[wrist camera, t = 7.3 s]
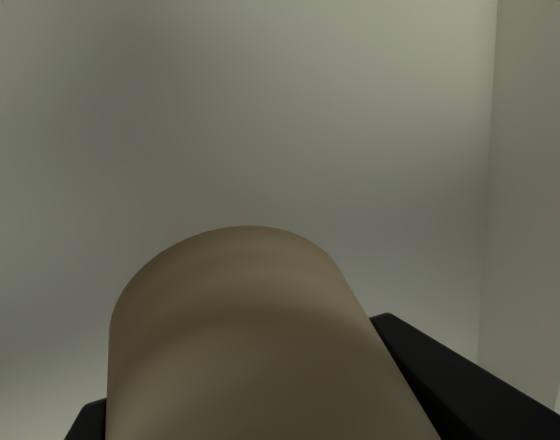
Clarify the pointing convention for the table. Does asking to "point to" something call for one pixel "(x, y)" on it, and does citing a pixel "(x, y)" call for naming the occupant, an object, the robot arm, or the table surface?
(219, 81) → the gray and white box
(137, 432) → the wooden cylinder
